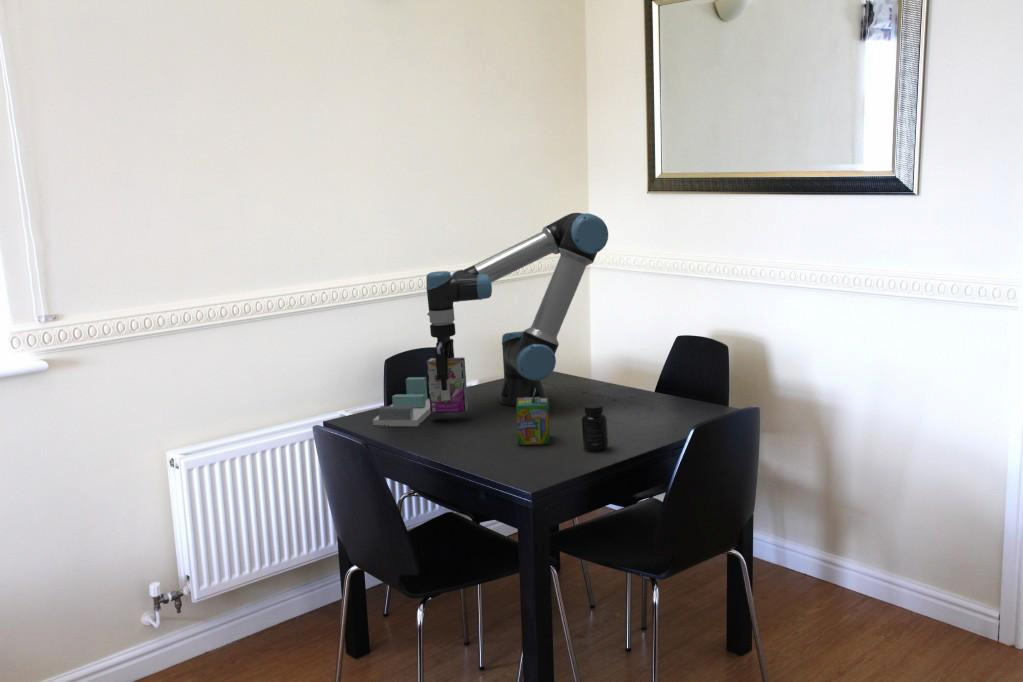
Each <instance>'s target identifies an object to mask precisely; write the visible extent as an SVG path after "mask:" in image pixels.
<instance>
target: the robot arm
mask: <svg viewBox="0 0 1023 682" xmlns="http://www.w3.org/2000/svg"><path fill="white" fill-rule="evenodd" d="M608 240H609V230H608V227H607V225H606V222H605V221H604V220H603V219H602V218H601V217H599V216H597V215H595V214H591V213H582V212H571V213H569V214H567V215H564V216H562V217H561V218H559V219H557V220H555V221H553V222H551V223H549V224H548V225H546V226H544V227H542V230H541V232H539V233H536V234H534V235H533V236H530V237H528V238H526V239H524V240H522V241H521V242H518V243H516V244H514V245H512V246H510V247H507V248H506V249H503V250H502V251H500V252H498V253H495V254H493V255H492V256H490V257H487V258H485V259H483V260H480V261H479V262H476V263H475V264H473V265H471V266H469V267H467V268H465V269H460V270H459V269H458V270H456V271H454V272H453V273H452V274H451V272H450V271H448V270H442V271H441V270H440V271H438V270H437V271H433V272H429V273H428V274H427V275H426V276H425V277H426V289H425V290H426V296H427V305H428V312H427V316H428V317H429V318H428V319H429V323H430V325H429V330H430V331H429V332H430V336H431V338H436V339H437V340H436V343H435V347H434V349H433V350H434V355H435V358H436V368H437V380H440V389H441V401H444V400H451V397H450V385H449V379H448V364H447V361H448V358H455V350H454V338H451V337H453V336H455V335H456V334H457V333H456V323H454V322H455V320H456V319H455V311H454V310H455V308H454V303H459V302H467V301H468V302H470V301H481V300H486V299H490V297H491V296H492V295H493V294H492V293H493V285H492V283H494V282H496V281H498V280H500V279H501V278H504V277H505V276H508V275H510V274H513V273H514V272H516V271H518V270H520V269H523V268H524V267H527V266H528V265H531V264H532V263H534V262H536V261H539V260H541V259H543V258H545V257H547V256H549V255H552V254H554V255H559V254H560V256H559V258H558V261H557V263H556V266H555V269H554V271H553V273H552V276H551V278H550V280H549V283H548V286H547V288H546V290H545V291H544V294H543V298H542V299H541V302H540V305H539V307H538V309H537V311H536V315H535V317H534V319H533V321H532V324H531V326H529V327H528V328H525V329H524V331H523V330H522V331H513V332H506V333H504V334H503V335H502V337H501V347H502V363H503V382H502V385H501V389H500V394H499V402H501V403H500V404H501V405H504V404H505V406H510V407H511V406H512V407H516V404H517V398H526V397H533V393H534V389H535V388H536V394H535V397H547V395H546V390H545V387H544V385H543V382H542V380H545V379H546V378H548V377H549V376H550V375H551V374H552V373H553V372H554V370H555V367H556V363H557V360H556V352H557V349H558V348H559V345H560V343H559V341H558V336H559V335H558V334H559V332H560V330H561V327H562V325H563V322H564V320H565V318H566V316H567V313H568V312H569V308H570V306H571V303H572V301H573V300H574V296H575V294H576V292H577V289H578V288H579V286H580V285H579V284H580V282H581V280H582V278H583V276H584V273H585V270H586V268H587V266H589V265H591V264H594V261H595V259H596V257H597V255H598V253H599V252H601V251H602V250H603V249H604V248H605V247H606V245H607V244H608Z"/></svg>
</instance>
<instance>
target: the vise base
mask: <svg viewBox="0 0 1023 682" xmlns="http://www.w3.org/2000/svg"><path fill="white" fill-rule="evenodd" d="M425 402H426V405H425V406H424V407H413V406H393V403H392V404H390V405H388V406H387V405H384V406H383V405H382V406H380V407H379V408H378V411H377V412H378V415H377V416H376V417H375V418H373V419H372V424H373V425H382V426H381V427H384V426H383V425H386V426H385V427H418V426H420V425H421V424H422V422H424V421H425V420H426V419H427V418H428V417H429V416H430V415H431V414H432V413H431V411H430V399H429V398H427V399H426V400H425ZM420 423H421V424H420ZM388 425H389V426H388Z"/></svg>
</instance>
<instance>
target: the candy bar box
mask: <svg viewBox="0 0 1023 682" xmlns="http://www.w3.org/2000/svg"><path fill="white" fill-rule="evenodd" d="M465 358H466V357H463V356H462V357H454V358H448V361H447V364H448V379H449V385H450V397H451V400H444V401H441V389H440V380H437V368H436V357H434V358H433V357H431V358H429V359H428V360H427V361H426V372H427V381H428V383H427V384H428V396H429V398H428V399H430V411H431V414H446V413H447V414H449V413H451V414H452V413H467V410H468V409H469V402H468V389H467V386H468V385H467V374H466V373H467V371H466V361H465V360H466V359H465Z"/></svg>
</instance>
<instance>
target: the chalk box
mask: <svg viewBox="0 0 1023 682" xmlns="http://www.w3.org/2000/svg"><path fill="white" fill-rule="evenodd" d="M535 394H536V388H535V389H534V393H533V397H526V398H517V404H516V406H515V407H516V408H515V409H516V427H517V428H516V430H517V446H530V445H532V446H534V445H537V446H540V445H550V444H551V438H550V437H551V433H550V430H551V429H550V408H549V407H550V406H549V401H550V400H549V396H546V397H535Z"/></svg>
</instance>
